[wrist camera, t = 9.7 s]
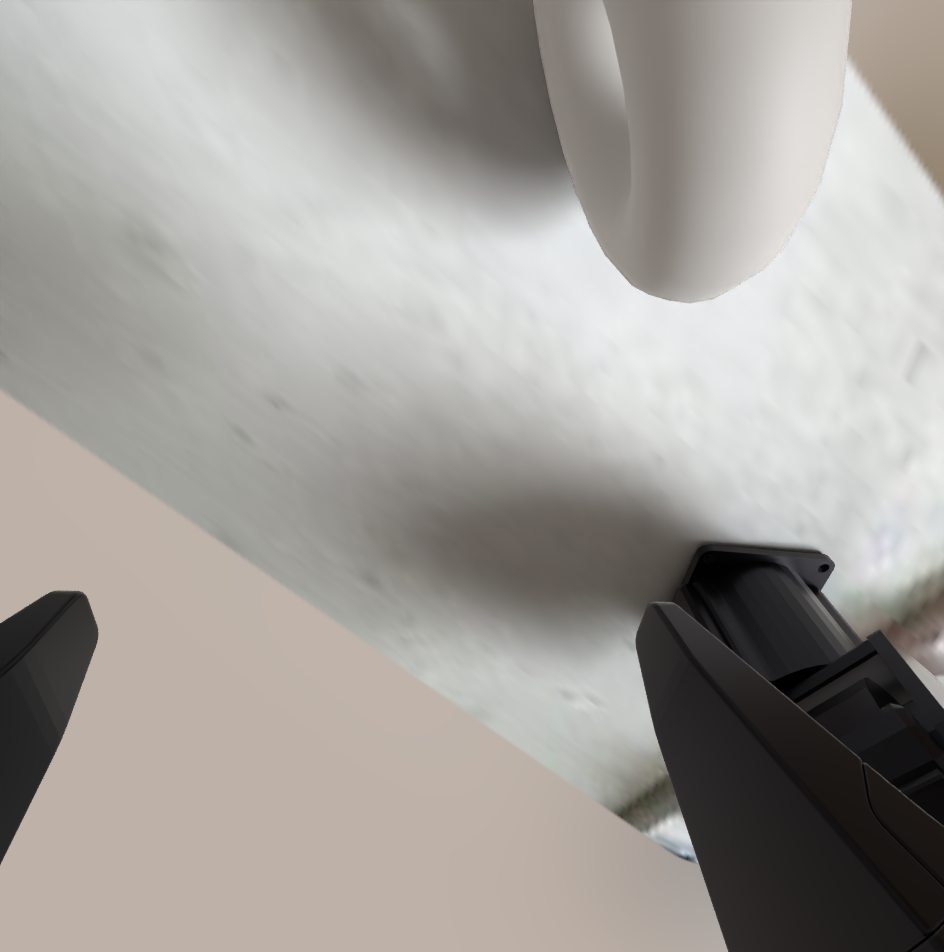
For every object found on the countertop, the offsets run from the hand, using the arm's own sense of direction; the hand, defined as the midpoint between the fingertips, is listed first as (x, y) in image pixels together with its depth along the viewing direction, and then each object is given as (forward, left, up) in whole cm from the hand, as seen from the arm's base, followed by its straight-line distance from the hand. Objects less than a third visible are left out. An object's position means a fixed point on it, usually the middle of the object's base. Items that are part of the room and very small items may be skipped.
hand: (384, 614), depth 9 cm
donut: (-5, -9, -13) cm, 16 cm away
